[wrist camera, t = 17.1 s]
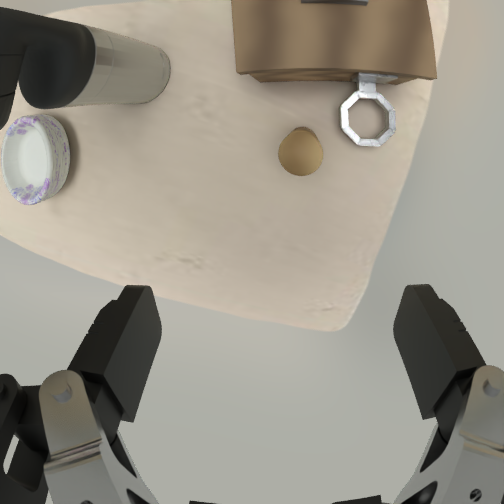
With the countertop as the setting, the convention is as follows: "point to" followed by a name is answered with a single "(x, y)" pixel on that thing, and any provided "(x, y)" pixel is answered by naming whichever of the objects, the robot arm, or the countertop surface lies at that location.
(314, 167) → the tan wooden cylinder
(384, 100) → the hasp
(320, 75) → the toolbox
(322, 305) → the countertop surface
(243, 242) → the countertop surface
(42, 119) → the paper bowls
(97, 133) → the countertop surface
